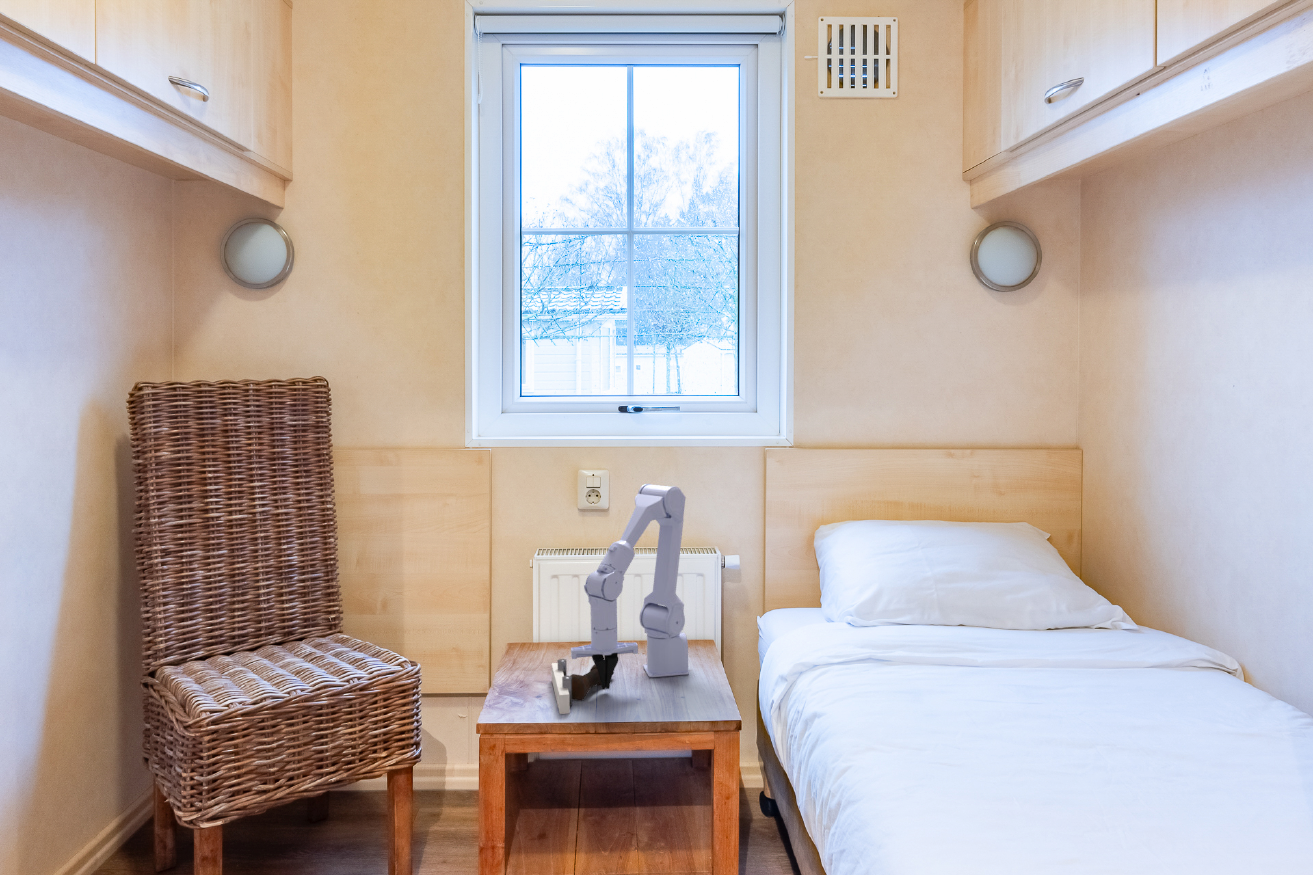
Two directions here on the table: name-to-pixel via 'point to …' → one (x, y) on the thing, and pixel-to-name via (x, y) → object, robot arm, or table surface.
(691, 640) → the table surface
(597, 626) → the robot arm
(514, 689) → the table surface
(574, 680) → the bolt
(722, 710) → the table surface
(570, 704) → the bar
